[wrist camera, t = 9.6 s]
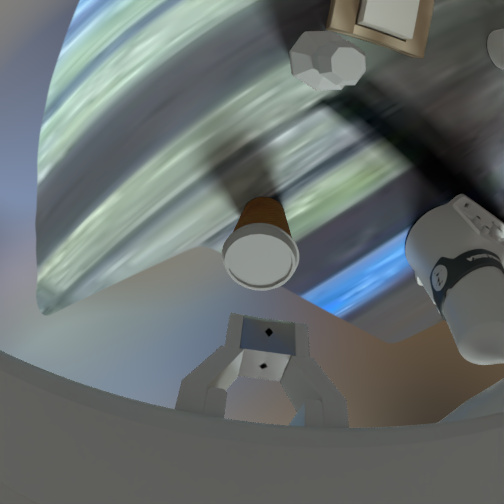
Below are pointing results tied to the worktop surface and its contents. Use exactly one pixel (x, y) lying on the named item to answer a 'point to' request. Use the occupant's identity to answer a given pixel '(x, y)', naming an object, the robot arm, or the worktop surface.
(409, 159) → the worktop surface
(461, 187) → the worktop surface
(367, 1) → the off-white key
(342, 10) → the oak key console
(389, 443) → the robot arm
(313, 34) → the faceted bottle
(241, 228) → the disposable coffee cup
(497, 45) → the cup
